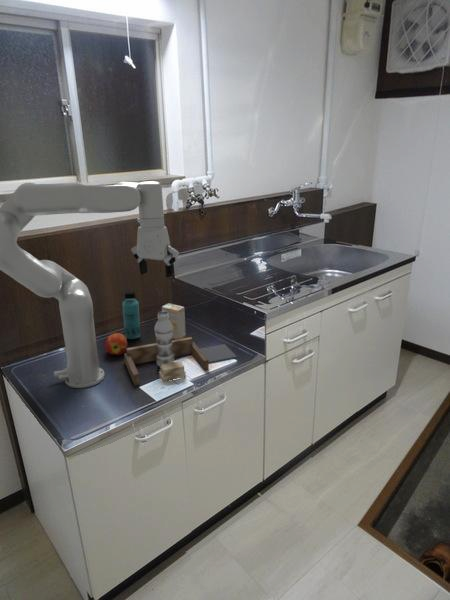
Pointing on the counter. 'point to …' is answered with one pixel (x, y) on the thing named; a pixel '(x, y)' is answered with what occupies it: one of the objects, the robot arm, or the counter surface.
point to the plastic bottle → (164, 339)
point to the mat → (218, 353)
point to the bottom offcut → (171, 376)
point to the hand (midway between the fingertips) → (156, 274)
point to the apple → (116, 344)
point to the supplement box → (176, 319)
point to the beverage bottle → (131, 316)
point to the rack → (150, 352)
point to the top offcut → (172, 368)
